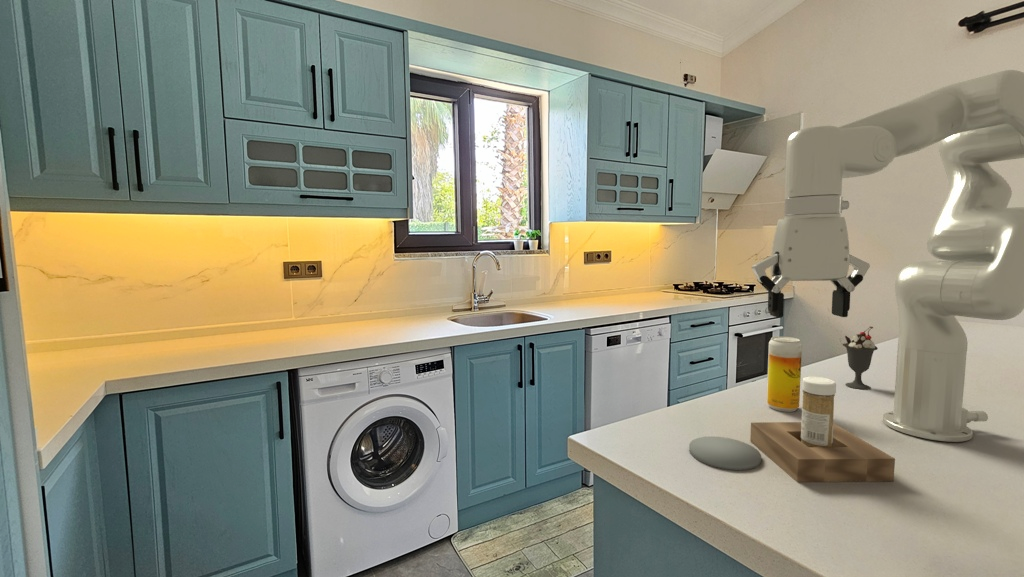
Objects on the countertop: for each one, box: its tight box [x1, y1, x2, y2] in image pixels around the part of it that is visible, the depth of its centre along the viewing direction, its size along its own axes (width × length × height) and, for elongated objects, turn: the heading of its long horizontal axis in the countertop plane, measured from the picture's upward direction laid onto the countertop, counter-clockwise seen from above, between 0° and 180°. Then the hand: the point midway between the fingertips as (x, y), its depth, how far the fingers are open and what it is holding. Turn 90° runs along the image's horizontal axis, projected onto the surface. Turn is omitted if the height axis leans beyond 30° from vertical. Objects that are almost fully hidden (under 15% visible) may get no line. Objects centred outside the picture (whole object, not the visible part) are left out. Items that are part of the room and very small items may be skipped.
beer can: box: [766, 336, 803, 413], centre depth 99 cm, size 6×6×15 cm
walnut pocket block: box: [749, 421, 896, 483], centre depth 76 cm, size 14×14×4 cm
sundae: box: [842, 326, 878, 390], centre depth 113 cm, size 7×7×15 cm
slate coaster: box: [688, 435, 762, 471], centre depth 79 cm, size 11×11×1 cm
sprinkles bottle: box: [800, 376, 837, 447], centre depth 76 cm, size 5×5×13 cm
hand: (807, 316), depth 75 cm, fingers open, 9 cm apart
